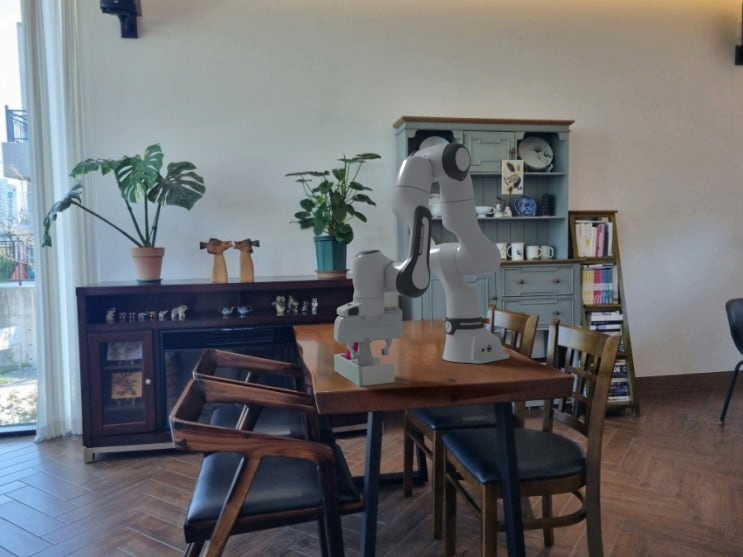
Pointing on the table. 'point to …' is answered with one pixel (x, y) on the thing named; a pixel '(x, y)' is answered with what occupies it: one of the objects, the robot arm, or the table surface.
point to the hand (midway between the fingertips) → (369, 356)
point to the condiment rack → (364, 371)
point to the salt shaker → (364, 353)
